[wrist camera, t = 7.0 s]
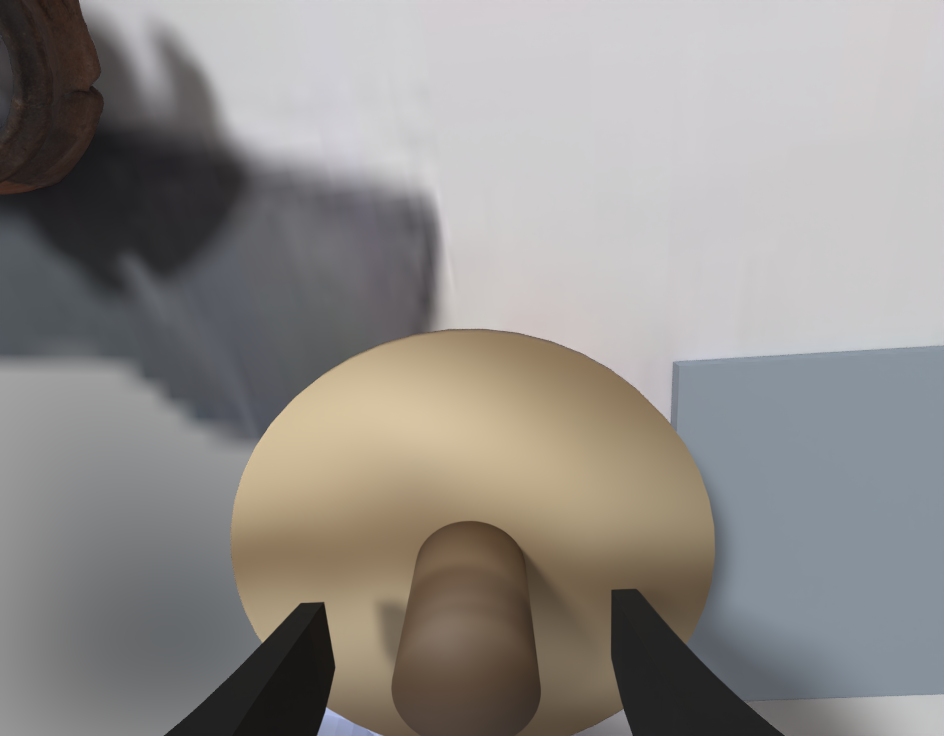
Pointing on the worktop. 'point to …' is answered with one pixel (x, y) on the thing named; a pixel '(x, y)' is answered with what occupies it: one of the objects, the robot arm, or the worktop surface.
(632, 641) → the robot arm
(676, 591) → the oak lid
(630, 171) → the worktop surface
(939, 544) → the rubber mat
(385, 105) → the worktop surface
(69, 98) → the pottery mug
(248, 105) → the worktop surface
